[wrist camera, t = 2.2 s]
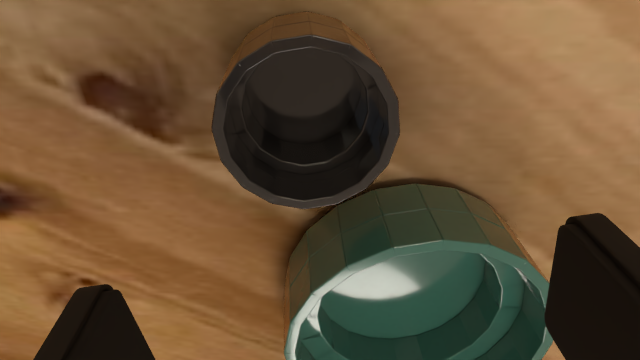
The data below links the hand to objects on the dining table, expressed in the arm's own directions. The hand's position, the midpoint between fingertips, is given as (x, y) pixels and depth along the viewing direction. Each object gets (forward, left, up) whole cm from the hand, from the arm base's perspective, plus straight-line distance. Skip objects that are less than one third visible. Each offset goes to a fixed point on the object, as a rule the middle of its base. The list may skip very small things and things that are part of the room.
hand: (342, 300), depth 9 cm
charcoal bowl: (0, 0, -14) cm, 14 cm away
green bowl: (+4, -13, -14) cm, 19 cm away
